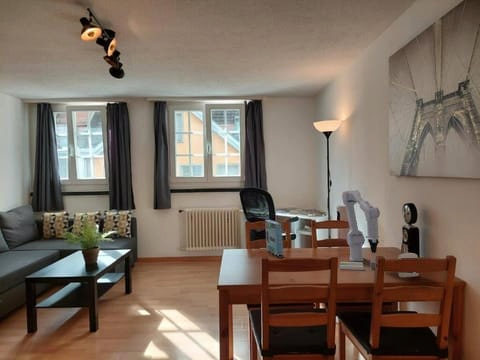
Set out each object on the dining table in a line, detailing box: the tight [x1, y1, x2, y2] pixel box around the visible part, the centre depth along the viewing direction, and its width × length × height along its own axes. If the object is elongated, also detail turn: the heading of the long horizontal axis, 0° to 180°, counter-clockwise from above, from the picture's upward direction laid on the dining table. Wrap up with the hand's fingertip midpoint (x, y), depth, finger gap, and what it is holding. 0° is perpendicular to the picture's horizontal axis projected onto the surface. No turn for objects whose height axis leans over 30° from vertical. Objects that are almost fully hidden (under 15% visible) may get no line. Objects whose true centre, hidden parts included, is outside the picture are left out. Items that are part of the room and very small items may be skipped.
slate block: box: [369, 260, 377, 270], centre depth 194 cm, size 4×4×4 cm
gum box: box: [264, 219, 284, 256], centre depth 239 cm, size 20×5×23 cm, turn 17°
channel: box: [339, 261, 365, 271], centre depth 198 cm, size 8×13×2 cm, turn 73°
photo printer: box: [397, 252, 420, 278], centre depth 178 cm, size 10×4×12 cm, turn 96°
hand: (373, 252), depth 194 cm, fingers closed
